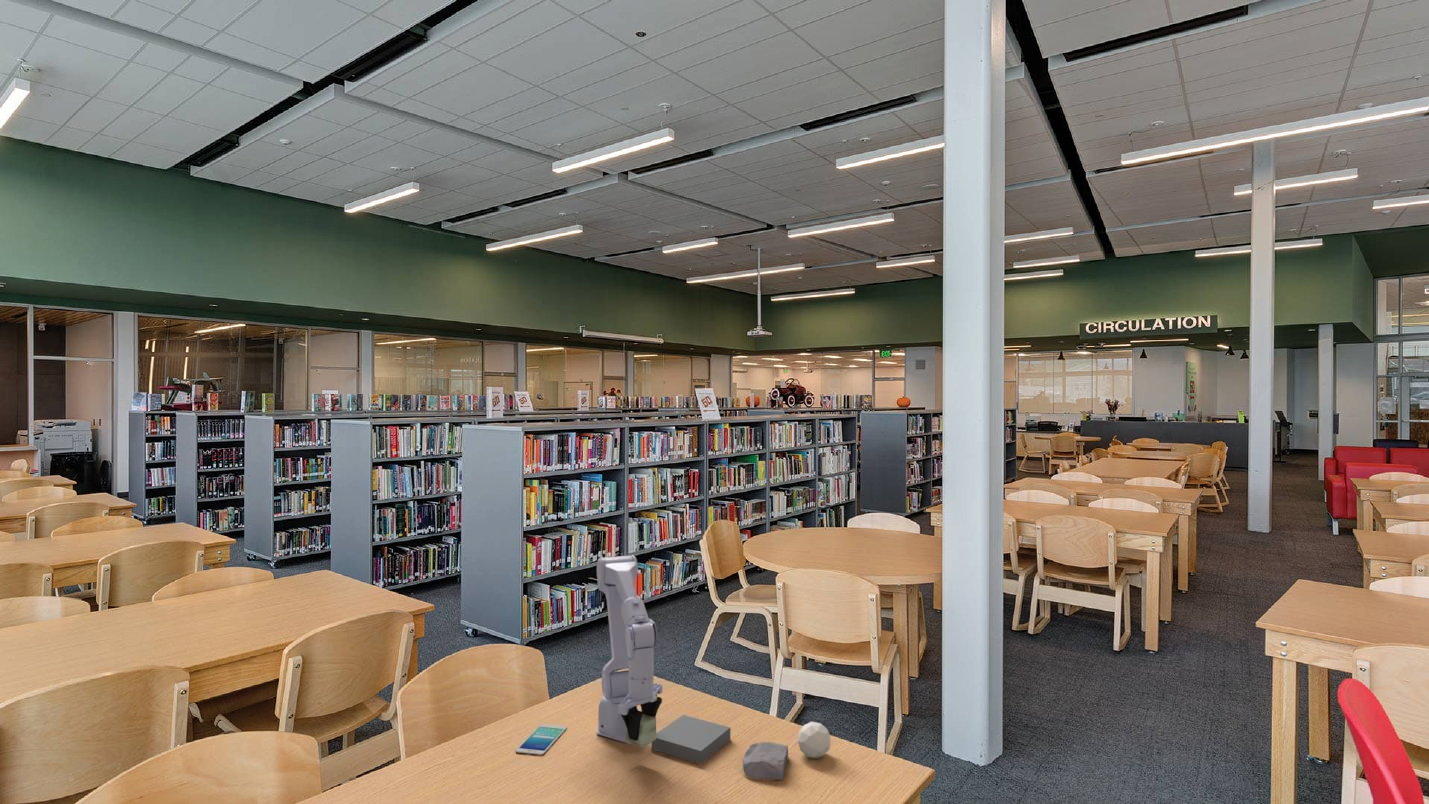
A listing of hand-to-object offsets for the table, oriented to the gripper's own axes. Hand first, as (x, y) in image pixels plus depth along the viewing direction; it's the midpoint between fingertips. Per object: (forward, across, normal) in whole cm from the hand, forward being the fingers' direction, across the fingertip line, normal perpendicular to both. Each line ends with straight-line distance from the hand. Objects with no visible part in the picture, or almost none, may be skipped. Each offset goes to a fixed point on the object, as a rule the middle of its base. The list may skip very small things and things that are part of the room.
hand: (640, 734), depth 163 cm
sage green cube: (+2, 0, 0) cm, 2 cm away
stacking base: (+7, +14, -5) cm, 16 cm away
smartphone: (+8, -3, +28) cm, 29 cm away
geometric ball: (+7, +24, -33) cm, 41 cm away
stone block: (+7, +14, -25) cm, 30 cm away
